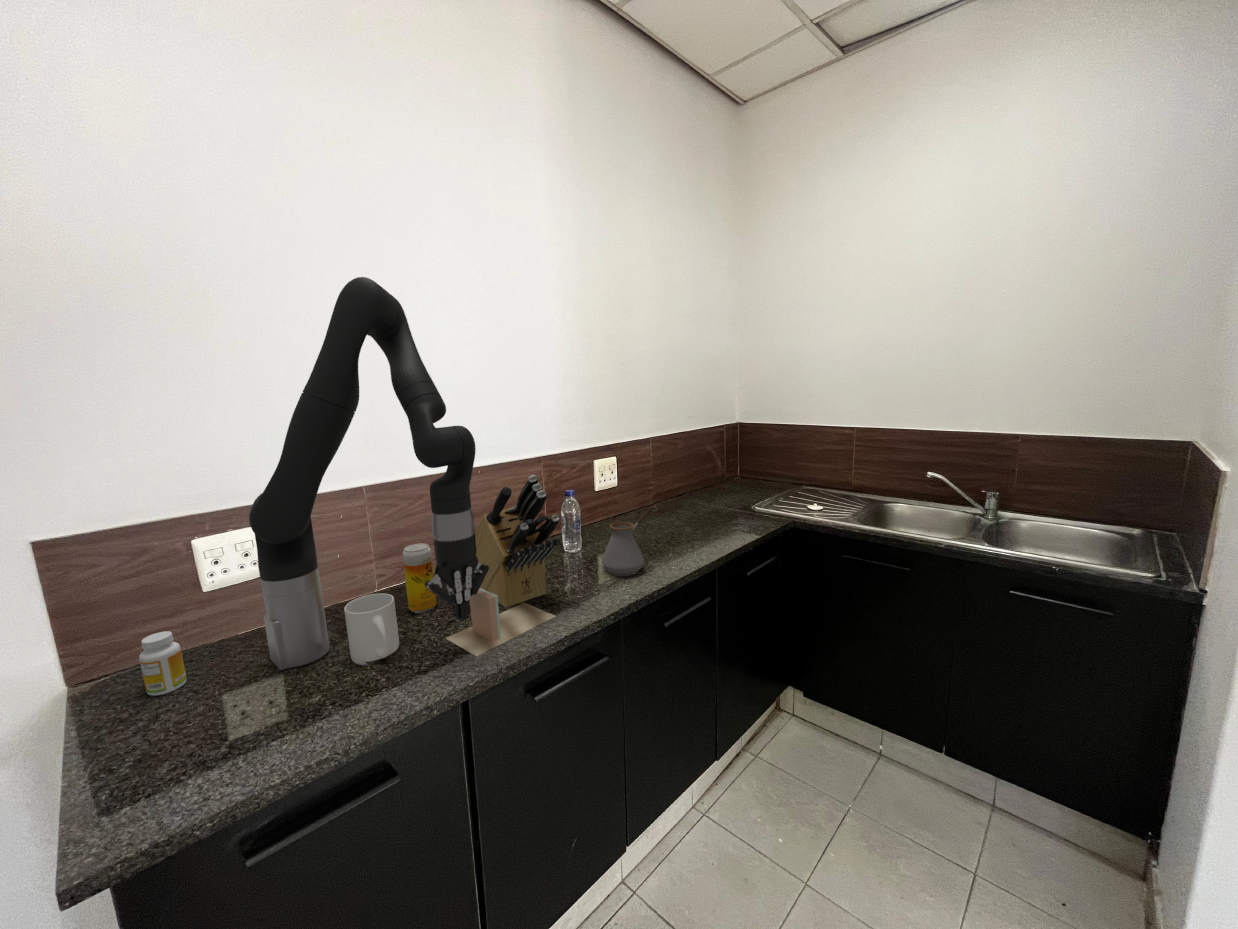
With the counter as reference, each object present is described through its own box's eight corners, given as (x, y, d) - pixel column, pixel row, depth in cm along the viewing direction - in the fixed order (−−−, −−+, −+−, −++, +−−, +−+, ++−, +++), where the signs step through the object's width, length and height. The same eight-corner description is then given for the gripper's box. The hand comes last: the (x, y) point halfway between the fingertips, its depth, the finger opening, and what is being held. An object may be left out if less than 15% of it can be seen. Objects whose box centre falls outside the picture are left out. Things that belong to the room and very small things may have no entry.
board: (477, 661, 93) (476, 656, 93) (445, 642, 100) (445, 638, 100) (556, 620, 108) (556, 616, 108) (524, 606, 115) (523, 602, 115)
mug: (363, 680, 89) (355, 624, 87) (346, 654, 97) (339, 603, 96) (412, 661, 94) (406, 608, 92) (391, 638, 103) (386, 589, 101)
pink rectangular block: (492, 641, 98) (489, 599, 97) (472, 631, 103) (468, 590, 101) (501, 637, 100) (497, 595, 98) (480, 627, 104) (477, 586, 103)
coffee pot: (627, 583, 127) (625, 526, 124) (593, 573, 134) (590, 519, 131) (672, 557, 143) (671, 507, 141) (639, 550, 150) (638, 502, 148)
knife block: (525, 627, 106) (515, 485, 100) (458, 580, 132) (447, 465, 127) (569, 610, 113) (562, 476, 108) (497, 568, 139) (488, 459, 134)
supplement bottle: (183, 674, 92) (173, 626, 91) (190, 685, 89) (180, 634, 87) (144, 689, 88) (133, 638, 87) (149, 700, 85) (138, 648, 83)
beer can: (427, 615, 113) (420, 552, 110) (403, 613, 114) (396, 551, 111) (441, 603, 118) (435, 543, 116) (419, 602, 120) (412, 542, 117)
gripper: (431, 546, 86) (441, 639, 89) (495, 527, 96) (502, 611, 99) (410, 538, 91) (420, 626, 94) (473, 521, 101) (480, 601, 104)
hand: (462, 618), depth 96 cm, fingers closed
